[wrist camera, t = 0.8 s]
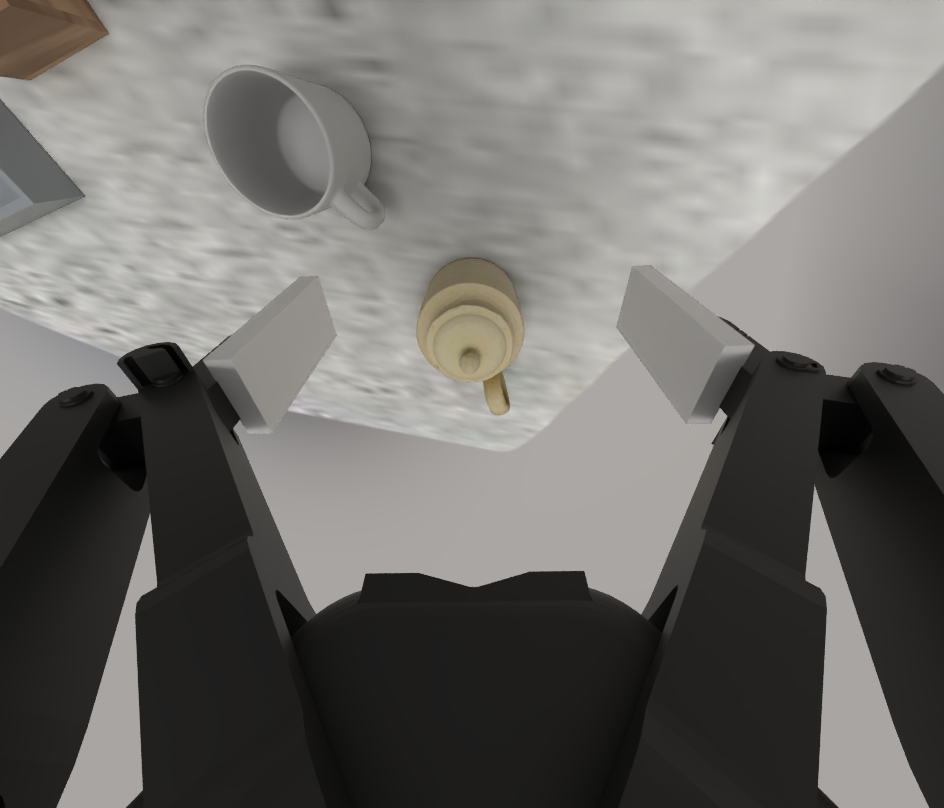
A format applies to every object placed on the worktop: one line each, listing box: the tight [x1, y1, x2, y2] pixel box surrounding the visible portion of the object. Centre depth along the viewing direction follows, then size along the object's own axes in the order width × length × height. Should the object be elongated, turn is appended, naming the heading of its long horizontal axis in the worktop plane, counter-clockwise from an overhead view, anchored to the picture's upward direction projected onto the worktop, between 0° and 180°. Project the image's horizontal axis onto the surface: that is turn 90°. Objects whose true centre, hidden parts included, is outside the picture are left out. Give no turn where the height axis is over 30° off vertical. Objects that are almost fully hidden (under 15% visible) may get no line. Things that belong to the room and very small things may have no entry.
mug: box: [204, 65, 385, 230], centre depth 28 cm, size 12×8×11 cm
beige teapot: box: [417, 258, 524, 415], centre depth 36 cm, size 15×11×15 cm
